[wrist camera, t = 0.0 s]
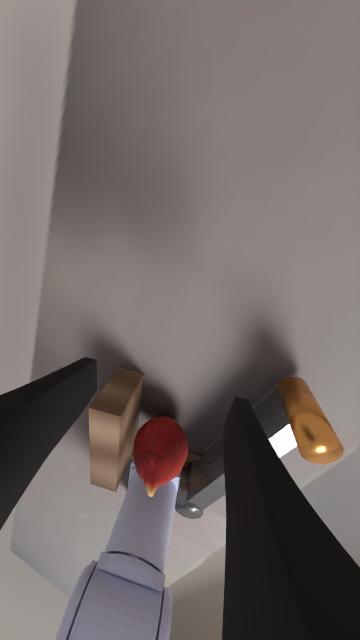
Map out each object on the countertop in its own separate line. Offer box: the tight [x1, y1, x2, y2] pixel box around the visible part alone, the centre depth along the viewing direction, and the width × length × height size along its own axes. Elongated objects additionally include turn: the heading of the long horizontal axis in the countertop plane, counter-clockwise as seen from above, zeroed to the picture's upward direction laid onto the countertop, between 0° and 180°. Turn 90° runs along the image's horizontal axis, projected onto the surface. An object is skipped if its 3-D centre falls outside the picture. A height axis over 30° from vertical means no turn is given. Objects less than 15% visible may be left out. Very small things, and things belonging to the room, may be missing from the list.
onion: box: [133, 416, 188, 497], centre depth 22 cm, size 6×6×8 cm
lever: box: [175, 377, 344, 519], centre depth 20 cm, size 21×3×6 cm, turn 150°
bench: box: [89, 367, 200, 492], centre depth 23 cm, size 15×13×6 cm
